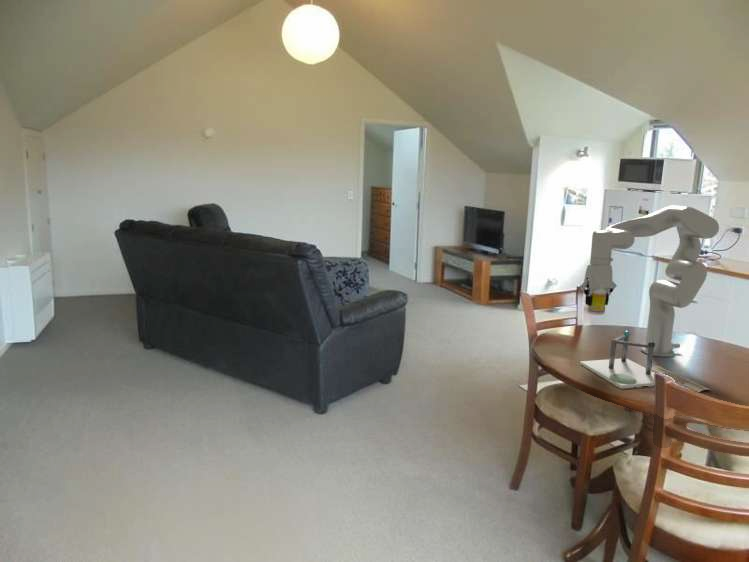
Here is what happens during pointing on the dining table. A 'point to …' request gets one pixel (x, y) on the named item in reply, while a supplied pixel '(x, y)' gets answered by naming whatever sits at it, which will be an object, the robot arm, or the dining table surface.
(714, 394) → the dining table surface
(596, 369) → the buzz board
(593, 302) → the supplement bottle
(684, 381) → the newspaper
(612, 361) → the bent wire
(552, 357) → the dining table surface
